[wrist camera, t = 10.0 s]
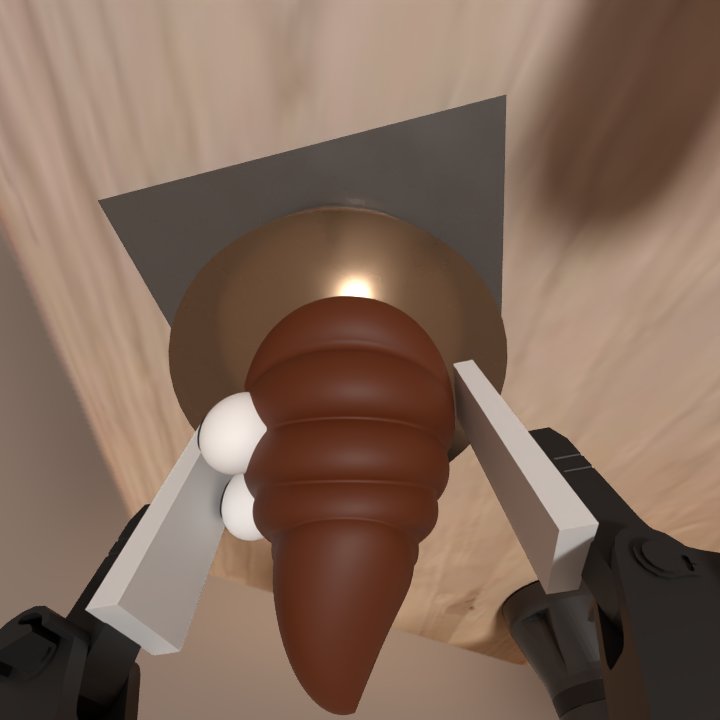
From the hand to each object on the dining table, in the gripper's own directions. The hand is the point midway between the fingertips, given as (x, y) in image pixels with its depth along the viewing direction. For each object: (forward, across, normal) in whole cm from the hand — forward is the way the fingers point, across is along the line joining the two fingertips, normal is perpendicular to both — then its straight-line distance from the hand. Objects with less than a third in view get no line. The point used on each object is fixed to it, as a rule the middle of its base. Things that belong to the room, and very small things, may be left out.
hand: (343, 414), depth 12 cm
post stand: (+9, 0, 0) cm, 9 cm away
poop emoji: (+2, 0, 0) cm, 2 cm away
